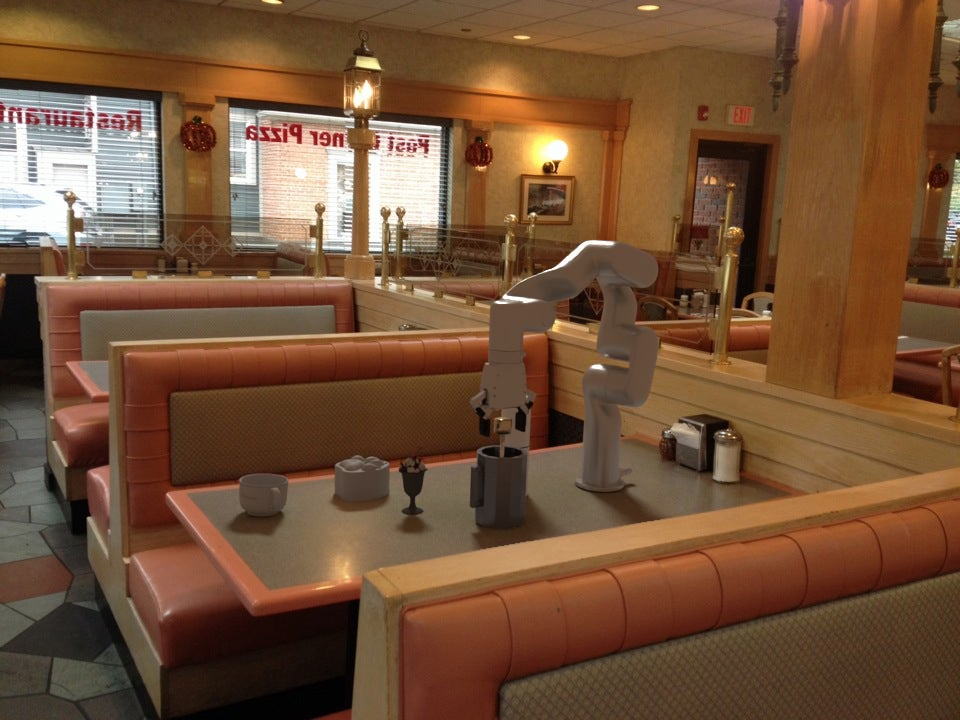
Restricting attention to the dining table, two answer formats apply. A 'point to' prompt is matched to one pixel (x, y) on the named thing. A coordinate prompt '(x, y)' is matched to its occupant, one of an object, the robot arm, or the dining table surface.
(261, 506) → the teacup
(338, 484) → the lumpy-topped squat cylinder
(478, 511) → the press carafe
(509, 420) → the plunger
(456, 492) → the dining table surface
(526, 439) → the cylindrical container
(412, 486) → the sundae
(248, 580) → the dining table surface
